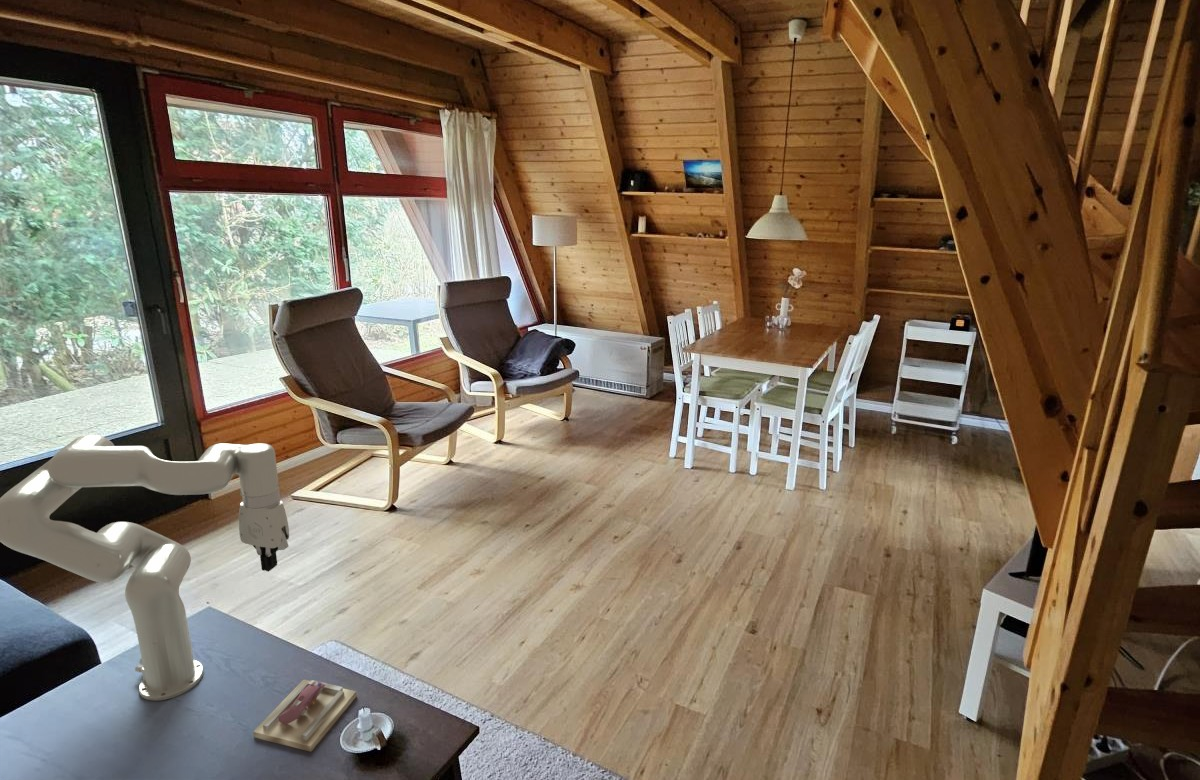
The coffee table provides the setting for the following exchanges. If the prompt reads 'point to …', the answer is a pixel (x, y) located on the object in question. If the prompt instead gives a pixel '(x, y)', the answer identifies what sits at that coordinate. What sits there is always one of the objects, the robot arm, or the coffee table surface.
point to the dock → (306, 717)
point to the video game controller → (302, 703)
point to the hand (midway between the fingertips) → (269, 567)
